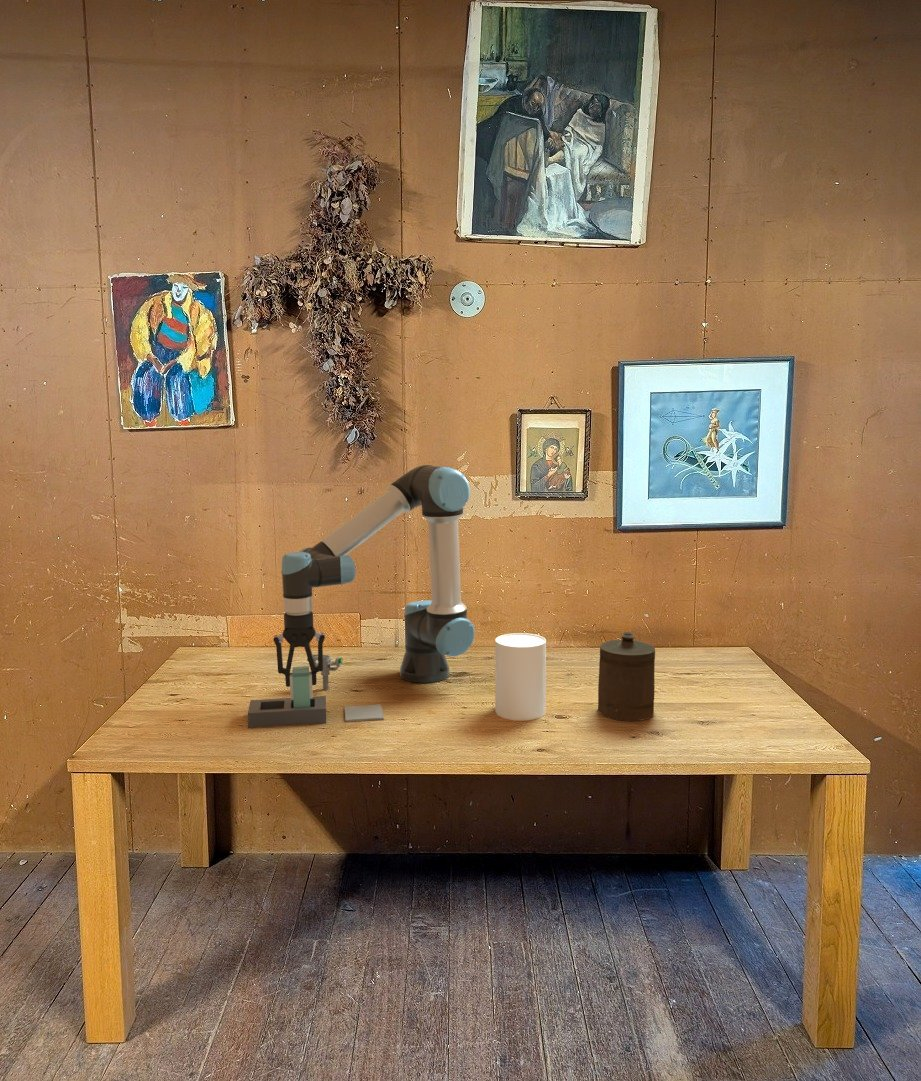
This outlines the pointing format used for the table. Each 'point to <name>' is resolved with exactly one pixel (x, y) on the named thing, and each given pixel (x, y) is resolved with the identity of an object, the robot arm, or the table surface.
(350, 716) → the mat
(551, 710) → the table surface
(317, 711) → the cinder block
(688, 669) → the table surface
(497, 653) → the canister
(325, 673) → the mechanical component
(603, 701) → the wooden container
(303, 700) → the plug
